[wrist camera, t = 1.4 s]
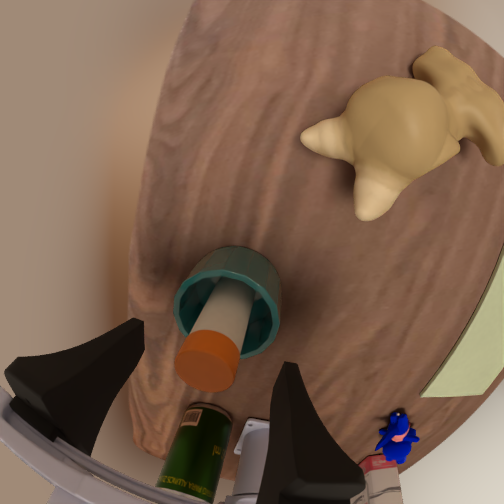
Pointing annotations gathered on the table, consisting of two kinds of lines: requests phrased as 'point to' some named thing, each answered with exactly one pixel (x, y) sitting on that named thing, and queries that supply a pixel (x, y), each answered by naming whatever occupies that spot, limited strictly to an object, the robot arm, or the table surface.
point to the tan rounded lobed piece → (410, 128)
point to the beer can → (197, 453)
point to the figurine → (397, 438)
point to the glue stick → (216, 338)
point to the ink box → (379, 482)
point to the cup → (240, 268)
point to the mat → (475, 347)
